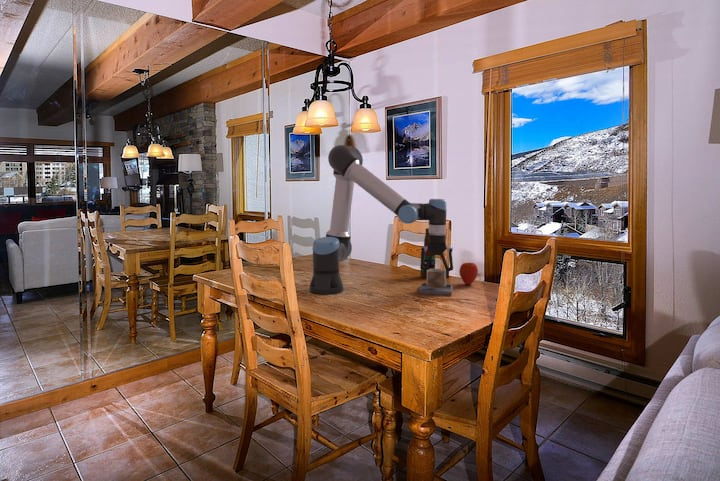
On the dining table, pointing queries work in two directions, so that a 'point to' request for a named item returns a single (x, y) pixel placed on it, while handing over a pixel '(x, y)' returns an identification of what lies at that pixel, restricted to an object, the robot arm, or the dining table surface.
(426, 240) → the bottle
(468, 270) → the apple
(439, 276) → the walnut cube
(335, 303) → the dining table surface
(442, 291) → the slate tray
